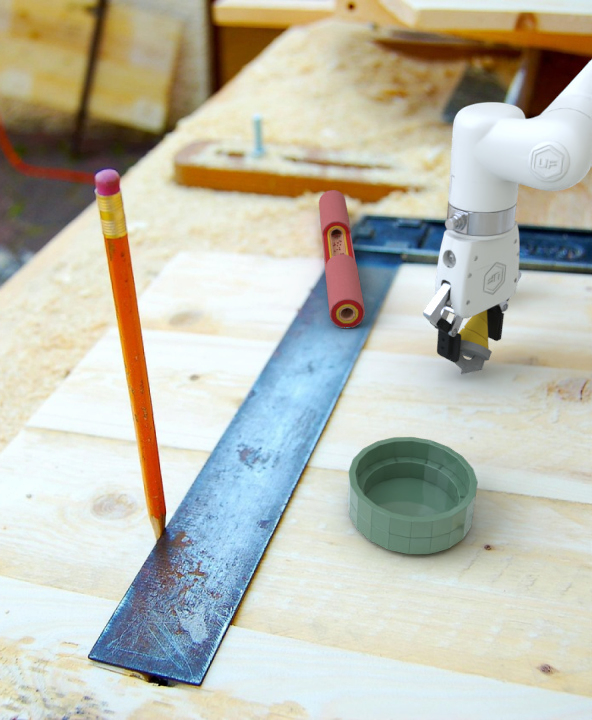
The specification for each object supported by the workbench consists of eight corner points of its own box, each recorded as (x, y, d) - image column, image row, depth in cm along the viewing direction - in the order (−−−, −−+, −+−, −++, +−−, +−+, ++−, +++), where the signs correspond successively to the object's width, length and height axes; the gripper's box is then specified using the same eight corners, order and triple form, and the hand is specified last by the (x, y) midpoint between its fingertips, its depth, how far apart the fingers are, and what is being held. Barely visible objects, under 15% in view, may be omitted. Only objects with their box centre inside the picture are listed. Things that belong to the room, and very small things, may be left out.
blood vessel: (364, 328, 110) (365, 298, 107) (329, 329, 110) (329, 299, 108) (345, 214, 145) (345, 189, 142) (318, 215, 145) (318, 190, 142)
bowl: (409, 457, 86) (412, 422, 83) (498, 520, 77) (504, 483, 74) (323, 504, 81) (323, 469, 78) (408, 578, 72) (411, 541, 69)
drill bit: (434, 368, 99) (459, 297, 100) (473, 382, 99) (498, 311, 100) (447, 365, 94) (472, 289, 95) (488, 380, 94) (513, 304, 95)
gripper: (452, 247, 82) (442, 384, 91) (557, 203, 89) (538, 334, 99) (402, 228, 87) (398, 359, 97) (505, 188, 95) (492, 313, 104)
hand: (469, 346), depth 98 cm, fingers closed on drill bit, 7 cm apart
